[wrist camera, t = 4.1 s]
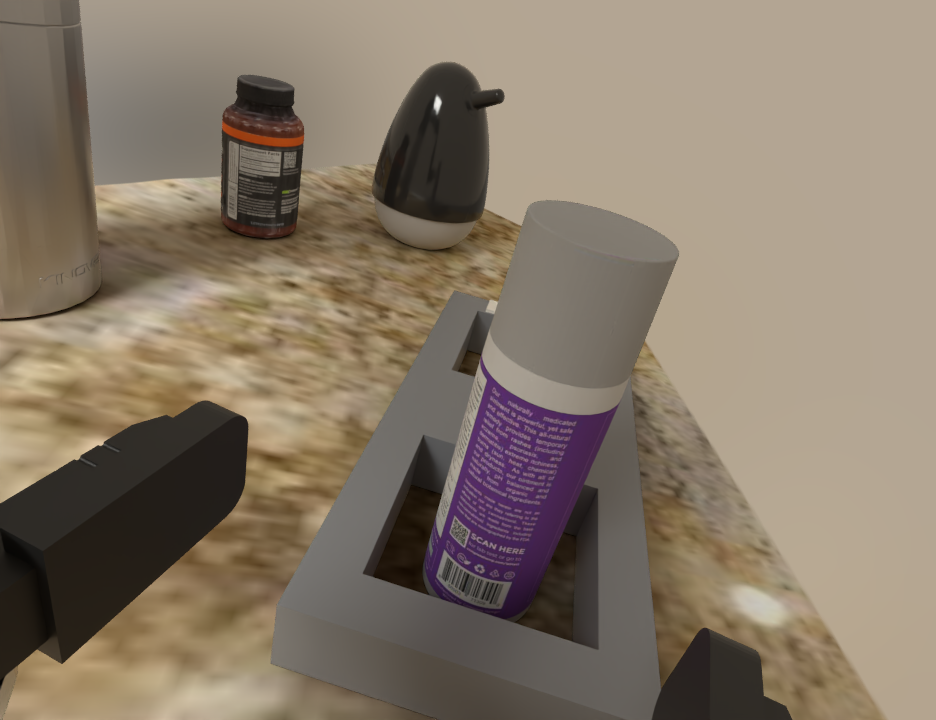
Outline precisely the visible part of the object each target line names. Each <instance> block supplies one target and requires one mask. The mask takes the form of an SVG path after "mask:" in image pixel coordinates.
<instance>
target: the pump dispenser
mask: <svg viewBox="0 0 936 720" xmlns="http://www.w3.org/2000/svg"><path fill="white" fill-rule="evenodd" d="M503 101H504V92H503V91H502V90H501V89H492V90H483V91H482V90H481V88H480V85H479V82H478V80H477V79H476V77H475V76H474V75H473V73H471V71H469V70H468V69H467V68H466V67H464V66H462V65H460V64H458V63H455V62H441V63H438V64H435V65H432V66H431V67H429V68H428V69H426V70H425V71H424V72H423V73H422V74H421V75H420V77H419V78H418V79H417V80H416V82H415V83H414V84H413V86H412V87H411V89H410V90H409V92H408V94H407V95H406V97H405V99H404V100H403V102H402V104H401V106H400V108H399V110H398V112H397V114H396V116H395V118H394V120H393V122H392V124H391V126H390V129H389V131H388V133H387V136H386V139H385V141H384V144H383V147H382V150H381V153H380V156H379V159H378V162H377V166H376V169H375V173H374V177H373V183H372V194H373V196H374V198H375V208H376V212H377V215H378V218H379V220H380V222H381V224H382V226H383V227H384V228H385V230H386V231H387V232H388V233H389V234H390V235H392V236H393V237H394V238H396V239H397V240H399V241H401V242H402V243H405V244H407V245H410V246H413V247H416V248H421V249H429V250H437V249H444V248H448V247H451V246H454V245H456V244H458V243H459V242H461V241H462V240H463V239H464V238H466V236H467V235H468V234H469V233H470V232H471V230H472V229H473V227H474V225H475V223H476V221H477V220H478V219H480V218H481V216H482V214H483V210H484V206H485V200H486V193H487V183H488V173H489V134H488V122H487V113H486V107H489V106H493V105H496V104H500V103H502V102H503Z"/></svg>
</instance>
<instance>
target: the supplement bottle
mask: <svg viewBox="0 0 936 720" xmlns="http://www.w3.org/2000/svg"><path fill="white" fill-rule="evenodd" d="M236 93H237V95H238V98H237V100H236V102H235V103H234V104H232V105H230V106H229V107H227V108H226V109H225V111H224V113H223V119H222V120H223V122H222V125H223V126H222V172H221V173H222V180H221V218H222V221H223V223H224V225H226V226H227V227H228V228H229V229H231V230H233V231H235V232H237V233H240V234H243V235H246V236H251V237H257V238H266V239H268V238H276V237H283V236H285V235H288V234H290V233H292V232H293V231H294V230H295V228H296V222H297V215H298V203H299V190H300V178H301V165H302V155H303V141H304V126H303V123H302V122H301V120H300V119H299V118H298V117H297V116H296V115H295V114H294V111H293V109H292V106H293V104H294V87H293V86H292V85H290V84H288V83H286V82H283V81H280V80H276V79H271V78H267V77H262V76H255V75H241V76H239V77H238V80H237V91H236Z"/></svg>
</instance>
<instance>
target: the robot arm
mask: <svg viewBox="0 0 936 720" xmlns="http://www.w3.org/2000/svg"><path fill="white" fill-rule="evenodd" d="M80 20H81V19H80V6H79V0H0V319H8V318H20V317H30V316H36V315H42V314H47V313H52V312H56V311H59V310H63V309H66V308H69V307H72V306H74V305H76V304H79V303H81V302H83V301H85V300H86V299H88V298H89V297H91V296H93V295H94V294H95V292H96V291H97V290H98V289H99V288H100V285H101V282H102V276H101V264H100V251H99V239H98V227H97V211H96V199H95V186H94V175H93V162H92V151H91V138H90V125H89V114H88V101H87V89H86V77H85V66H84V65H85V64H84V52H83V41H82V28H81V22H80ZM247 443H248V422H247V419H246V418H245V417H243V416H241V415H239V414H237V413H235V412H232V411H230V410H228V409H226V408H223V407H221V406H219V405H217V404H215V403H212V402H210V401H201V402H198V403H196V404H195V405H193V406H191V407H190V408H188V409H187V410H185V411H183V412H182V413H180V414H179V415H177V416H175V417H174V418H172V417H170V416H168V415H165V416H161V417H158V418H154V419H151V420H148V421H144V422H141V423H137V424H134V425H132V426H130V427H128V428H126V429H125V430H123V431H121V432H120V433H118V434H116V435H115V436H113V437H111V438H110V439H108V440H106V441H105V442H104V444H103V445H102V446H99V445H98V446H96V447H95V448H93V449H91V450H90V451H88V452H86V453H84V454H83V455H81V457H80V459H79V460H75V459H74V460H73V461H71V462H69V463H68V464H66V465H64V466H63V467H61V468H59V469H58V470H56V471H54V472H53V473H51V474H49V475H47V476H46V477H44V478H42V479H41V480H39V481H37V482H36V483H34V484H32V485H31V486H29V487H27V488H26V489H24V490H22V491H21V492H19V493H17V494H16V495H14V496H12V497H11V498H9V499H7V500H5V501H4V502H2V503H0V720H3V717H4V714H5V711H6V708H7V705H8V702H9V699H10V697H11V694H12V691H13V688H14V685H15V682H16V678H17V674H18V665H19V664H20V663H21V662H22V661H24V660H25V659H26V658H27V657H28V656H30V655H31V654H32V653H33V652H34V651H35V650H37V649H38V650H39V651H41V652H43V653H44V654H46V655H48V656H49V657H51V658H53V659H54V660H56V661H58V662H59V663H61V664H63V663H64V662H65V661H66V660H67V659H68V658H69V657H71V656H72V655H73V654H74V653H75V652H76V651H77V650H78V649H79V648H81V647H82V646H83V645H84V644H85V643H86V642H87V641H88V640H89V639H91V638H92V637H93V636H94V635H95V634H96V633H97V632H98V631H99V630H101V629H102V628H103V627H104V626H105V625H106V624H107V623H108V622H110V621H111V620H112V619H113V618H114V617H115V616H116V615H117V614H118V613H120V612H121V611H122V610H123V609H124V608H125V607H126V606H127V605H128V604H130V603H131V602H132V601H133V600H134V599H135V598H136V597H137V596H138V595H140V594H141V593H142V592H143V591H144V590H145V589H146V588H147V587H148V586H150V585H151V584H152V583H153V582H154V581H155V580H156V579H157V578H159V577H160V576H161V575H162V574H163V573H164V572H165V571H166V570H167V569H169V568H170V567H171V566H172V565H173V564H174V563H175V562H176V561H177V560H179V559H180V558H181V557H182V556H183V555H184V554H185V553H186V552H187V551H189V550H190V549H191V548H192V547H193V546H194V545H195V544H196V543H198V542H199V541H200V540H201V539H202V538H203V537H204V536H205V535H206V534H208V533H209V532H210V531H211V530H212V529H213V528H214V527H215V526H216V525H218V524H219V523H220V522H221V521H222V520H223V519H224V518H225V517H226V516H227V515H228V514H229V513H230V512H231V511H232V510H233V508H234V507H235V506H236V504H237V502H238V501H239V499H240V497H241V495H242V492H243V489H244V485H245V476H246V459H247ZM652 720H792V718H791V716H790V714H789V712H788V710H787V707H786V706H784V705H782V704H780V703H778V702H776V701H774V700H772V699H769V698H767V697H765V696H764V693H763V680H762V668H761V659H760V656H759V654H758V652H757V651H756V650H754V649H752V648H749V647H747V646H745V645H743V644H741V643H738V642H736V641H734V640H732V639H729V638H727V637H725V636H723V635H721V634H718V633H716V632H714V631H712V630H710V629H707V628H703V629H701V630H700V631H699V632H698V634H697V635H696V636H695V638H694V639H693V641H692V643H691V644H690V646H689V647H688V649H687V650H686V652H685V653H684V655H683V656H682V658H681V659H680V661H679V662H678V664H677V666H676V667H675V669H674V670H673V672H672V673H671V675H670V676H669V678H668V679H667V681H666V682H665V684H664V686H663V687H662V689H661V691H660V694H659V696H658V699H657V702H656V705H655V708H654V712H653V716H652Z"/></svg>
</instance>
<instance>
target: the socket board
mask: <svg viewBox="0 0 936 720" xmlns="http://www.w3.org/2000/svg"><path fill="white" fill-rule="evenodd" d="M497 304H498V302H497V301H494V300H490V301H488V300H485V299H481V298H478V297H475V296H471V295H468V294H464V293H461V292H458V291H454V292H453V294H452V296H451V297H450V299H449V301H448V303H447V304H446V306H445V308H444V310H443V311H442V313H441V315H440V317H439V319H438V320H437V322H436V324H435V326H434V327H433V329H432V331H431V333H430V335H429V336H428V338H427V340H426V342H425V343H424V345H423V347H422V349H421V350H420V352H419V354H418V356H417V358H416V359H415V361H414V363H413V365H412V366H411V368H410V370H409V372H408V373H407V375H406V377H405V379H404V381H403V382H402V384H401V386H400V388H399V389H398V391H397V393H396V395H395V397H394V398H393V400H392V402H391V404H390V405H389V407H388V409H387V411H386V412H385V414H384V416H383V418H382V420H381V421H380V423H379V425H378V427H377V428H376V430H375V432H374V434H373V435H372V437H371V439H370V441H369V443H368V444H367V446H366V448H365V450H364V451H363V453H362V455H361V457H360V459H359V460H358V462H357V464H356V466H355V467H354V469H353V471H352V473H351V474H350V476H349V478H348V480H347V482H346V483H345V485H344V487H343V489H342V490H341V492H340V494H339V496H338V497H337V499H336V501H335V503H334V505H333V506H332V508H331V510H330V512H329V513H328V515H327V517H326V519H325V521H324V522H323V524H322V526H321V528H320V529H319V531H318V533H317V535H316V536H315V538H314V540H313V542H312V544H311V545H310V547H309V549H308V551H307V552H306V554H305V556H304V558H303V559H302V561H301V563H300V565H299V567H298V568H297V570H296V572H295V574H294V575H293V577H292V579H291V581H290V582H289V584H288V586H287V588H286V590H285V591H284V593H283V595H282V597H281V598H280V600H279V602H278V604H277V609H276V618H275V627H274V637H273V646H272V655H271V664H274V665H277V666H280V667H283V668H286V669H289V670H292V671H295V672H298V673H301V674H304V675H307V676H310V677H313V678H316V679H319V680H322V681H325V682H328V683H331V684H334V685H337V686H340V687H343V688H346V689H349V690H352V691H355V692H358V693H361V694H364V695H367V696H370V697H373V698H376V699H379V700H382V701H385V702H388V703H391V704H394V705H397V706H400V707H403V708H406V709H408V710H411V711H414V712H417V713H420V714H423V715H426V716H429V717H432V718H435V719H438V720H652V716H653V712H654V708H655V705H656V702H657V699H658V696H659V694H660V691H661V683H660V673H659V662H658V652H657V642H656V632H655V622H654V612H653V601H652V591H651V581H650V571H649V561H648V551H647V540H646V530H645V520H644V510H643V500H642V489H641V479H640V469H639V459H638V449H637V439H636V428H635V418H634V408H633V398H632V388H631V377H630V378H629V380H628V383H627V386H626V388H625V391H624V393H623V396H622V399H621V401H620V403H619V406H618V408H617V410H616V413H615V415H614V417H613V419H612V422H611V424H610V426H609V428H608V431H607V433H606V435H605V438H604V440H603V442H602V444H601V447H600V449H599V451H598V453H597V456H596V458H595V460H594V463H593V465H592V467H591V469H590V472H589V474H588V476H587V479H586V481H585V483H584V485H583V488H582V490H581V492H580V494H579V497H578V499H577V501H576V504H575V506H574V508H573V510H572V513H571V515H570V517H569V519H568V522H567V524H566V526H565V529H564V531H563V532H564V533H567V534H570V535H574V536H576V560H575V584H574V609H573V633H572V641H569V640H566V639H563V638H559V637H556V636H553V635H550V634H547V633H544V632H541V631H538V630H535V629H532V628H528V627H525V626H522V625H519V624H516V623H513V622H510V621H507V620H504V619H501V618H498V617H494V616H491V615H488V614H485V613H482V612H479V611H476V610H473V609H470V608H467V607H464V606H460V605H457V604H454V603H451V602H448V601H445V600H442V599H439V598H436V597H433V596H430V595H426V594H423V593H420V592H417V591H414V590H411V589H408V588H405V587H402V586H399V585H396V584H392V583H389V582H386V581H383V580H380V579H377V578H374V577H373V575H374V573H375V570H376V568H377V565H378V563H379V561H380V558H381V556H382V553H383V551H384V549H385V546H386V544H387V541H388V539H389V537H390V534H391V532H392V529H393V527H394V525H395V522H396V520H397V517H398V515H399V513H400V510H401V508H402V505H403V503H404V501H405V498H406V496H407V493H408V491H409V489H410V486H411V485H414V486H418V487H421V488H424V489H427V490H430V491H433V492H437V493H440V494H442V493H443V490H444V486H445V483H446V479H447V476H448V472H449V468H450V465H451V461H452V458H453V454H454V451H455V447H456V443H457V440H458V436H459V433H460V429H461V426H462V422H463V419H464V415H465V411H466V408H467V404H468V401H469V397H470V394H471V390H472V387H473V383H474V379H475V377H473V376H470V375H467V374H464V373H460V372H458V371H459V368H460V366H461V364H462V361H463V359H464V356H465V354H466V352H467V350H469V351H472V352H475V353H479V354H482V351H483V348H484V345H485V342H486V339H487V336H488V332H489V329H490V326H491V323H492V320H493V317H494V313H495V310H496V307H497Z"/></svg>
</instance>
